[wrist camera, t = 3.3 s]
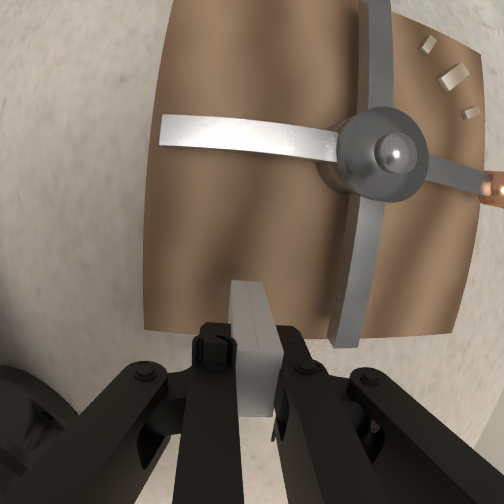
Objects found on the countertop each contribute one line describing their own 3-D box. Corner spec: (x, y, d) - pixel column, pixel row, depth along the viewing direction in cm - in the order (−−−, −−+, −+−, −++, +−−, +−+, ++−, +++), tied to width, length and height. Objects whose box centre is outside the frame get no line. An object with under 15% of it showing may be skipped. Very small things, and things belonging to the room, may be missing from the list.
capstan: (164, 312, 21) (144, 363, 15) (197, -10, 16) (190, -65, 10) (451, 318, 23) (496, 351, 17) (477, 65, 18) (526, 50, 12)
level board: (148, 320, 23) (142, 334, 20) (182, -15, 17) (178, -29, 15) (442, 326, 25) (455, 336, 23) (470, 57, 20) (485, 52, 17)
